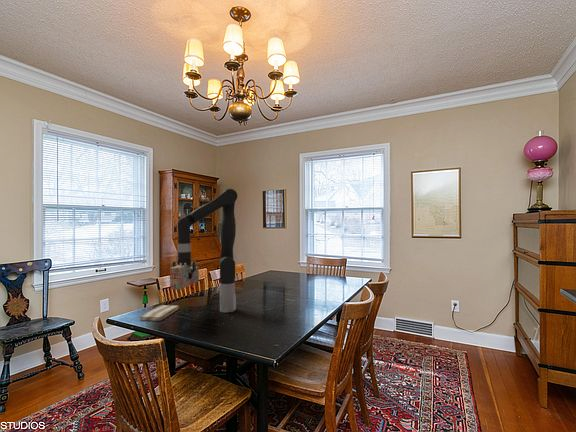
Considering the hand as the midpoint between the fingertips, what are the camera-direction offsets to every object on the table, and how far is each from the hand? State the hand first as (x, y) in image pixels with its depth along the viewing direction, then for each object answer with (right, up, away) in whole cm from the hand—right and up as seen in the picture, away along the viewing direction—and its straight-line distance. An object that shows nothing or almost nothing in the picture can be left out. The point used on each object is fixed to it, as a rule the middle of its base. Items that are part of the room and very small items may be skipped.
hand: (184, 279), depth 176 cm
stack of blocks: (0, -4, +1) cm, 4 cm away
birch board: (-15, -21, +1) cm, 26 cm away
